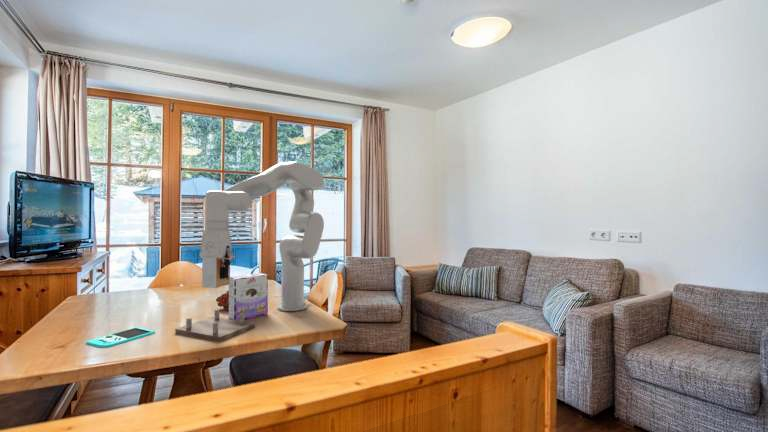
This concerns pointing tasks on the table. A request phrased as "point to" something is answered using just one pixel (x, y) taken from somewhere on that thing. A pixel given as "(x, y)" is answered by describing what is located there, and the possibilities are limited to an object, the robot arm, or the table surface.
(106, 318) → the table surface
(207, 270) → the small box
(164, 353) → the table surface
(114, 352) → the table surface
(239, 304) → the candy box
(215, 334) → the peg board
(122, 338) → the handheld game console
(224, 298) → the dragon fruit
